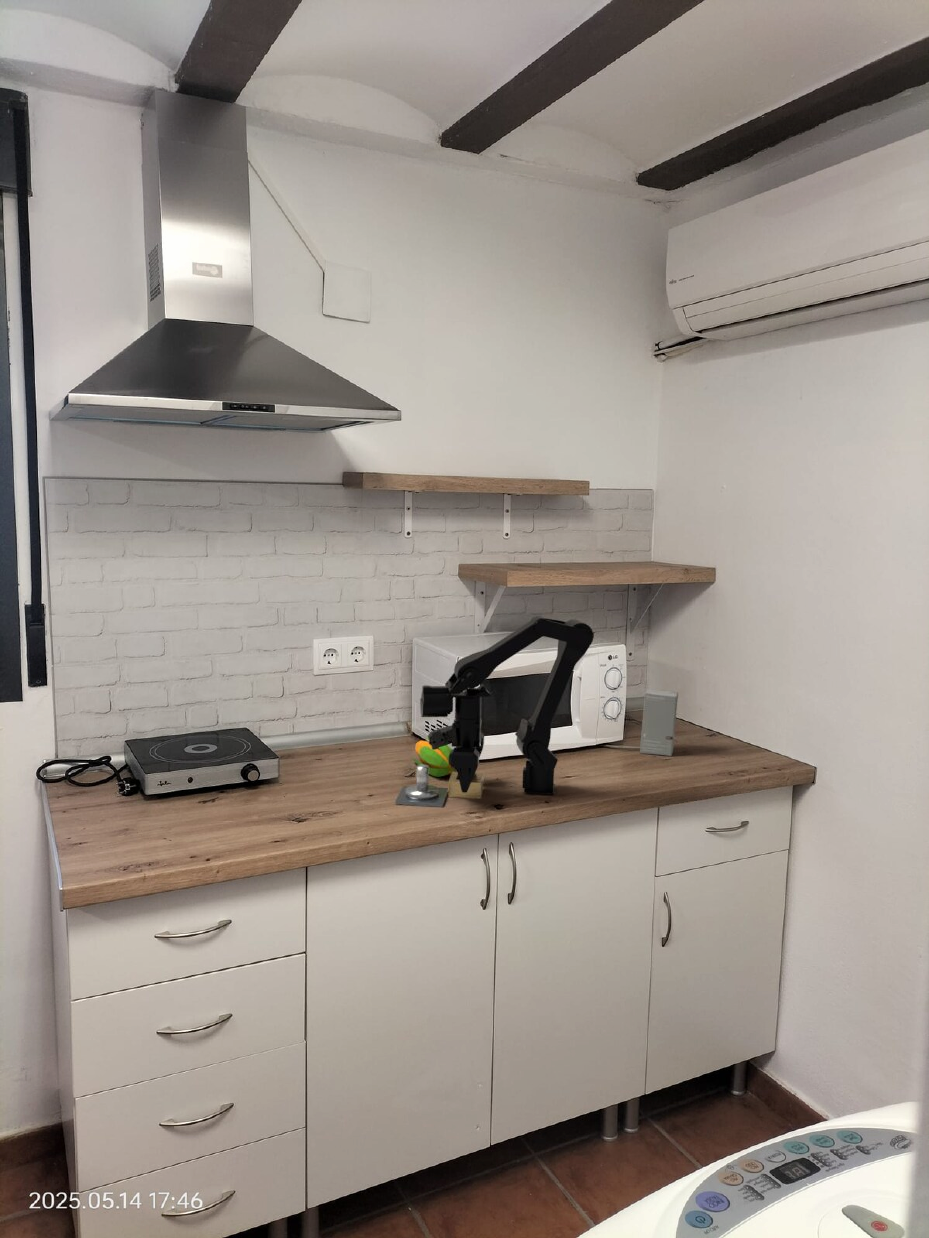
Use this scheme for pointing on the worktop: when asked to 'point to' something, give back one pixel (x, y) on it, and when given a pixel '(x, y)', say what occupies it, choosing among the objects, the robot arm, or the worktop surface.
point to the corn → (434, 758)
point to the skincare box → (658, 722)
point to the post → (422, 791)
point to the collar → (474, 787)
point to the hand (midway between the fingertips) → (466, 785)
